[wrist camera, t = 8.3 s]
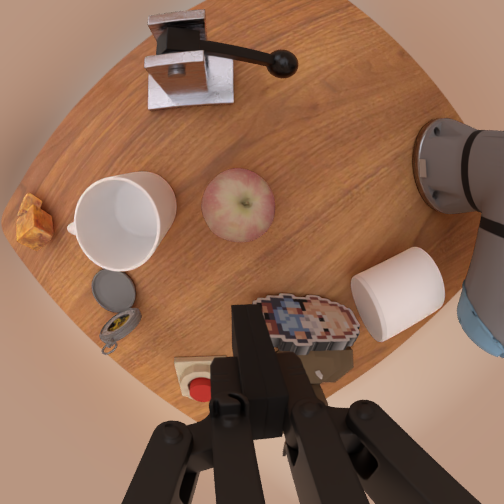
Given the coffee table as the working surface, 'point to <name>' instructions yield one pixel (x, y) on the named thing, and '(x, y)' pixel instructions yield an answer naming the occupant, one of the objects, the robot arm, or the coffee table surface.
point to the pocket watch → (116, 305)
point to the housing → (192, 370)
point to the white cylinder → (398, 293)
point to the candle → (326, 367)
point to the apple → (238, 205)
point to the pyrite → (33, 223)
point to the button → (200, 389)
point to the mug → (124, 219)
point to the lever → (226, 51)
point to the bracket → (187, 69)
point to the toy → (308, 323)
